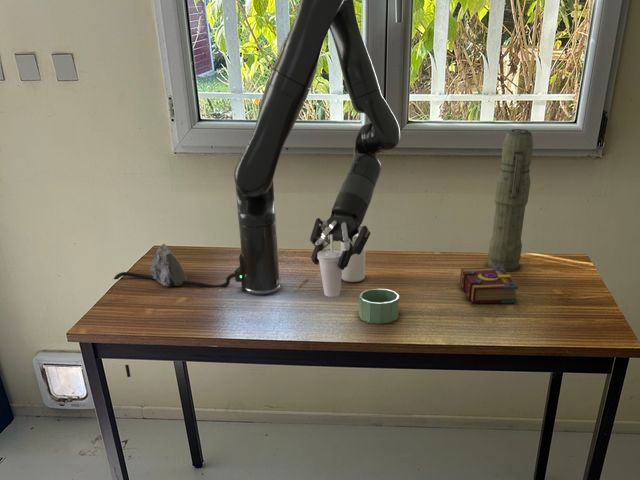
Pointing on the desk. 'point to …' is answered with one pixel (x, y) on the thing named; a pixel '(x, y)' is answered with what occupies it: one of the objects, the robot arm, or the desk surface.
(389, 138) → the robot arm
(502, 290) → the decorative book
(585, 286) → the desk surface
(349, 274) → the can
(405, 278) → the desk surface
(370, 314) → the holder
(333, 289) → the smoothie
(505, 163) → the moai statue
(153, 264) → the mineral rock
